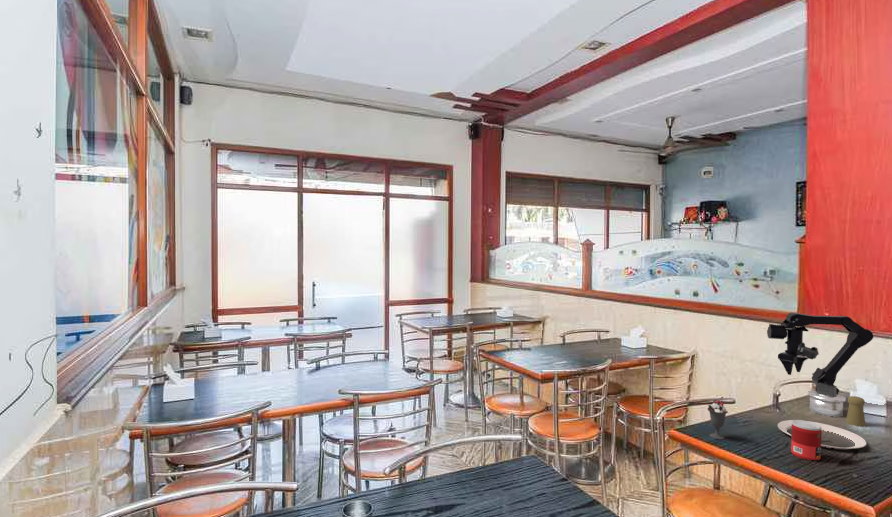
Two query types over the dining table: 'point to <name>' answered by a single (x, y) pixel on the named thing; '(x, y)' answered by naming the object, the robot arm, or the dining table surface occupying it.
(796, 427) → the canned food
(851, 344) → the robot arm
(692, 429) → the dining table surface
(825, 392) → the cooker lid
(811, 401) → the cooker pot
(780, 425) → the plate
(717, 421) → the sundae
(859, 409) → the cork
